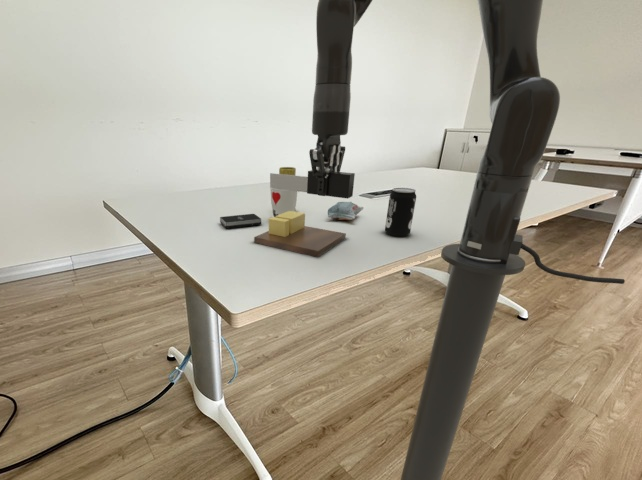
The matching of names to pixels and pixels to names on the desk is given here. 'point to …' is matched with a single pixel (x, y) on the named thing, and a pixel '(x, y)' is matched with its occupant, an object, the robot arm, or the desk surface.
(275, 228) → the butter slice
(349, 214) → the packaged food
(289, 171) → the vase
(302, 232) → the board
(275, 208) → the cup
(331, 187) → the knife
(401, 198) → the beverage can
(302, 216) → the butter
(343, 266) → the desk surface
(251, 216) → the external hard drive
